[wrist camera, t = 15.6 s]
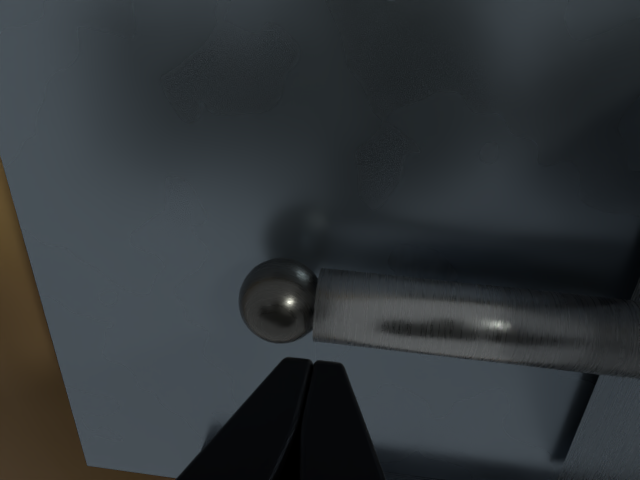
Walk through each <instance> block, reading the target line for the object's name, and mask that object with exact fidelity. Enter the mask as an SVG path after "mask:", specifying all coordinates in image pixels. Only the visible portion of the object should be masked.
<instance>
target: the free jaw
mask: <svg viewBox="0 0 640 480" xmlns="http://www.w3.org/2000/svg"><path fill="white" fill-rule="evenodd" d="M238 304H239V311H240V314H241V317H242V319H243V321H244V323H245V325H246V326H247V327H248V329H249V330H250V331H251V332H252V333H253V334H255V335H256V336H257V337H259V338H260V339H262V340H265V341H267V342H271V343H276V344H286V343H291V342H295V341H297V340H300V339H302V338H303V337H305V336H306V335H307V334H309V333H310V332H311V331H312V330H313V342H322V343H331V344H339V345H348V346H357V347H365V348H374V349H382V350H391V351H400V352H408V353H417V354H426V355H434V356H443V357H452V358H460V359H469V360H477V361H486V362H495V363H503V364H512V365H521V366H529V367H538V368H546V369H555V370H564V371H572V372H581V373H590V374H598V375H599V378H598V380H597V383H596V385H595V388H594V390H593V393H592V395H591V397H590V400H589V402H588V405H587V407H586V410H585V412H584V414H583V417H582V419H581V422H580V424H579V427H578V429H577V432H576V434H575V436H574V439H573V441H572V444H571V446H570V449H569V451H568V453H567V456H566V458H565V461H564V463H563V466H562V468H561V471H560V473H559V475H558V478H557V480H640V278H639V280H638V283H637V285H636V288H635V290H634V293H633V295H632V298H631V300H626V299H616V298H607V297H597V296H587V295H578V294H568V293H559V292H549V291H539V290H530V289H520V288H511V287H501V286H491V285H482V284H472V283H463V282H453V281H443V280H434V279H424V278H415V277H405V276H395V275H386V274H376V273H366V272H357V271H347V270H338V269H328V268H321V269H320V273H319V277H318V278H317V276H316V275H315V273H314V272H313V271H312V270H311V269H310V268H309V267H307V266H306V265H304V264H303V263H301V262H299V261H296V260H293V259H289V258H274V259H270V260H267V261H264V262H262V263H260V264H259V265H257V266H256V267H254V268H253V269H252V270H251V271H250V272H249V273H248V275H247V276H246V277H245V279H244V281H243V283H242V285H241V288H240V292H239V299H238Z"/></svg>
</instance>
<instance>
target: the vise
mask: <svg viewBox="0 0 640 480" xmlns="http://www.w3.org/2000/svg"><path fill="white" fill-rule="evenodd" d="M0 156H1V159H2V163H3V166H4V170H5V174H6V177H7V181H8V184H9V188H10V191H11V195H12V199H13V202H14V206H15V209H16V213H17V216H18V220H19V224H20V227H21V231H22V234H23V238H24V241H25V245H26V249H27V252H28V256H29V259H30V263H31V266H32V270H33V274H34V277H35V281H36V284H37V288H38V291H39V295H40V299H41V302H42V306H43V309H44V313H45V316H46V320H47V324H48V327H49V331H50V334H51V338H52V341H53V345H54V349H55V352H56V356H57V359H58V363H59V366H60V370H61V374H62V377H63V381H64V384H65V388H66V391H67V395H68V399H69V402H70V406H71V409H72V413H73V416H74V420H75V424H76V427H77V431H78V434H79V438H80V441H81V445H82V449H83V452H84V456H85V459H86V463H87V466H93V467H100V468H107V469H114V470H121V471H128V472H136V473H143V474H150V475H157V476H164V477H171V478H177V477H178V476H179V475H180V474H181V473H182V471H183V470H184V469H185V468H186V467H187V466H188V465H189V464H190V462H191V461H192V460H193V459H194V458H195V457H196V456H197V455H198V454H199V452H200V451H201V450H202V449H203V448H204V447H205V446H206V445H207V443H208V442H209V441H210V440H211V439H212V438H213V437H214V436H215V434H216V433H217V432H218V431H219V430H220V429H221V428H222V427H223V425H224V424H225V423H226V422H227V421H228V420H229V419H230V418H231V416H232V415H233V414H234V413H235V412H236V411H237V410H238V409H239V407H240V406H241V405H242V404H243V403H244V402H245V401H246V400H247V399H248V397H249V396H250V395H251V394H252V393H253V392H254V391H255V390H256V388H257V387H258V386H259V385H260V384H261V383H262V382H263V381H264V379H265V378H266V377H267V376H268V375H269V374H270V373H271V372H272V370H273V369H274V368H275V367H276V366H277V365H278V364H279V363H280V361H281V360H282V359H284V358H286V357H295V358H305V359H310V360H311V361H312V362H313V364H314V362H315V361H317V360H324V361H333V362H340V363H342V364H343V365H344V367H345V369H346V372H347V375H348V377H349V380H350V383H351V386H352V388H353V391H354V394H355V396H356V399H357V402H358V404H359V407H360V410H361V412H362V415H363V418H364V421H365V423H366V426H367V429H368V431H369V434H370V437H371V439H372V442H373V445H374V448H375V450H376V453H377V456H378V458H379V461H380V464H381V466H382V469H383V472H384V474H385V477H386V480H557V478H558V475H559V473H560V471H561V468H562V466H563V463H564V461H565V458H566V456H567V453H568V451H569V449H570V446H571V444H572V441H573V439H574V436H575V434H576V432H577V429H578V427H579V424H580V422H581V419H582V417H583V414H584V412H585V410H586V407H587V405H588V402H589V400H590V397H591V395H592V393H593V390H594V388H595V385H596V383H597V380H598V378H599V375H598V374H590V373H581V372H572V371H564V370H555V369H546V368H538V367H529V366H521V365H512V364H503V363H495V362H486V361H477V360H469V359H460V358H452V357H443V356H434V355H426V354H417V353H408V352H400V351H391V350H382V349H374V348H365V347H357V346H348V345H339V344H331V343H322V342H313V330H312V331H311V332H310V333H309V334H307V335H306V336H305V337H303V338H302V339H300V340H297V341H295V342H291V343H286V344H276V343H271V342H267V341H265V340H262V339H260V338H259V337H257V336H256V335H255V334H253V333H252V332H251V331H250V330H249V329H248V327H247V326H246V325H245V323H244V321H243V319H242V317H241V314H240V311H239V304H238V299H239V292H240V288H241V285H242V283H243V281H244V279H245V277H246V276H247V275H248V273H249V272H250V271H251V270H252V269H253V268H254V267H256V266H257V265H259V264H260V263H262V262H264V261H267V260H270V259H274V258H289V259H293V260H296V261H299V262H301V263H303V264H304V265H306V266H307V267H309V268H310V269H311V270H312V271H313V272H314V273H315V275H316V276H317V278H318V277H319V273H320V269H321V268H328V269H338V270H347V271H357V272H366V273H376V274H386V275H395V276H405V277H415V278H424V279H434V280H443V281H453V282H463V283H472V284H482V285H491V286H501V287H511V288H520V289H530V290H539V291H549V292H559V293H568V294H578V295H587V296H597V297H607V298H616V299H626V300H631V298H632V295H633V293H634V290H635V288H636V285H637V283H638V280H639V278H640V0H0Z"/></svg>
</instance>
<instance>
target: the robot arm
mask: <svg viewBox="0 0 640 480" xmlns="http://www.w3.org/2000/svg"><path fill="white" fill-rule="evenodd" d="M175 480H386V477H385V474H384V472H383V469H382V466H381V464H380V461H379V458H378V456H377V453H376V450H375V448H374V445H373V442H372V439H371V437H370V434H369V431H368V429H367V426H366V423H365V421H364V418H363V415H362V412H361V410H360V407H359V404H358V402H357V399H356V396H355V394H354V391H353V388H352V386H351V383H350V380H349V377H348V375H347V372H346V369H345V367H344V365H343V364H342V363H340V362H333V361H324V360H317V361H315V362H314V364H313V362H312V361H311V360H310V359H305V358H295V357H286V358H284V359H282V360H281V361H280V363H279V364H278V365H277V366H276V367H275V368H274V369H273V370H272V372H271V373H270V374H269V375H268V376H267V377H266V378H265V379H264V381H263V382H262V383H261V384H260V385H259V386H258V387H257V388H256V390H255V391H254V392H253V393H252V394H251V395H250V396H249V397H248V399H247V400H246V401H245V402H244V403H243V404H242V405H241V406H240V407H239V409H238V410H237V411H236V412H235V413H234V414H233V415H232V416H231V418H230V419H229V420H228V421H227V422H226V423H225V424H224V425H223V427H222V428H221V429H220V430H219V431H218V432H217V433H216V434H215V436H214V437H213V438H212V439H211V440H210V441H209V442H208V443H207V445H206V446H205V447H204V448H203V449H202V450H201V451H200V452H199V454H198V455H197V456H196V457H195V458H194V459H193V460H192V461H191V462H190V464H189V465H188V466H187V467H186V468H185V469H184V470H183V471H182V473H181V474H180V475H179V476H178V477H177V478H176V479H175Z"/></svg>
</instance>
